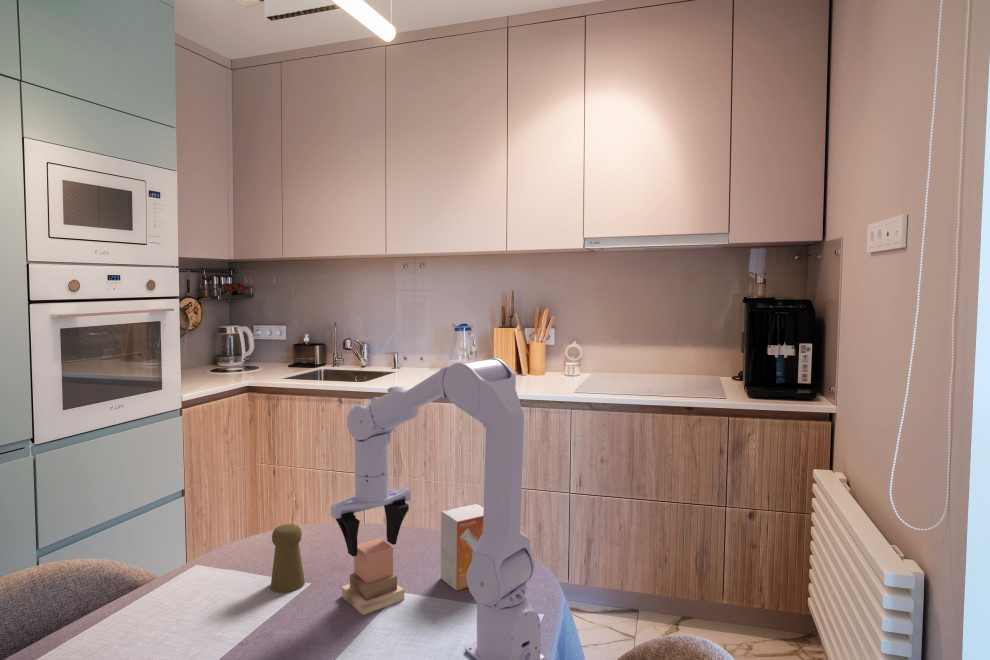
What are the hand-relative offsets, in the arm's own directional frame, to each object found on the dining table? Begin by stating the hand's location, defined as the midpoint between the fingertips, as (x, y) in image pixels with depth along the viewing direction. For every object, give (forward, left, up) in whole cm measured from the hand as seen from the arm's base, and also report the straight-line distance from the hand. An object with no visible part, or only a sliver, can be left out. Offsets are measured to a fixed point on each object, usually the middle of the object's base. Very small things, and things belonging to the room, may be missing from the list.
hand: (372, 548), depth 106 cm
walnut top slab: (0, 0, -7) cm, 7 cm away
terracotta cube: (0, 0, -5) cm, 5 cm away
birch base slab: (0, 0, -10) cm, 10 cm away
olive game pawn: (+14, +10, -9) cm, 20 cm away
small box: (-5, -17, -9) cm, 20 cm away
